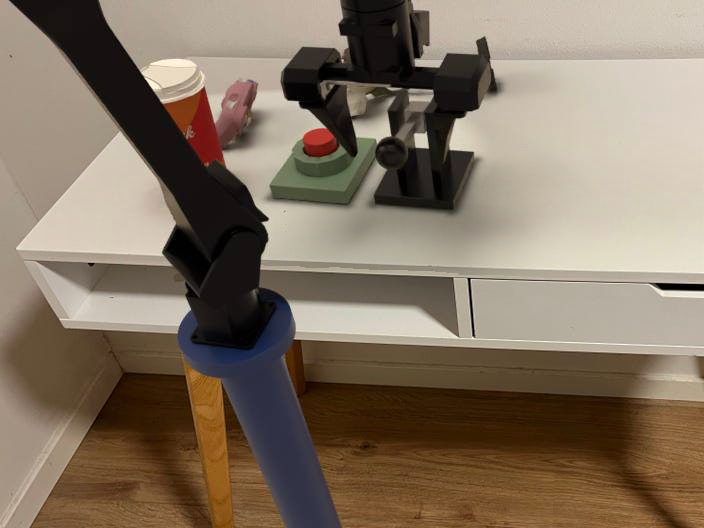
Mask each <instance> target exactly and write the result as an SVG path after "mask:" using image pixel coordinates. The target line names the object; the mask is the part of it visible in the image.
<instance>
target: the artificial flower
mask: <svg viewBox="0 0 704 528" xmlns="http://www.w3.org/2000/svg"><path fill="white" fill-rule="evenodd" d="M475 43H476V44H475V45H476V48H477V49H476V50H477V54H479V55H483V56H484V57H485V58H486V60H487V61H488V62H489V64H490V73H491V83H490V85H489V88H490V89H491V90H498V86H497V81H496V77H495V71H494V69H493V67H492V64H491V58H492V57H491V53H490V50H489V49H490V48H489V43H488V41H487V37H486V35H484V36H482V37H480V38H478V39H476V40H475ZM341 60H342V63H351V58H350V53H349V47H346V48H344V50H343V52H342V54H341ZM399 90H405V91H409V90H410V89H406V88H398V89H397V90H395V89H394V90H391V89H390V88H387V87H369V86H350V85H347V101H348V106H349V110H350V114H351V118H352V117H354V116H360V115H363V114H364V113H365V112H366V108H367V97H366V96H367V95H370V94H371V96H372V97H374V98H379V97H383V96H389V95H390V96H391V95H392V96H393V95H397V94H398V92H399Z"/></svg>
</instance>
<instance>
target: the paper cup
mask: <svg viewBox="0 0 704 528" xmlns="http://www.w3.org/2000/svg"><path fill="white" fill-rule="evenodd" d="M139 70H140V72H141V73H142V75H143V76H144V77H145V79H146V80H147V82H148V83H149V85H150V86H151V88H152V89H153V91H154V92H155V93H156V95H157V96H158V98H159V99H160V101H161V102H162V104H163V105H164V107H165V108H166V109H167V111H168V112H169V114H170V115H171V117H172V118H173V120H174V121H175V122H176V124H177V125H178V127H179V128H180V130H181V131H182V133H183V134H184V136H185V137H186V138H187V140H188V141H189V143H190V144H191V146H192V147H193V149H194V150H195V152H196V153H197V154H198V156H199V157H200V159H201V160H202V162H203V163H204V165H205V166H206V167H207V166H208V165H209V164H210V163H211V162H212V161H213V160H214V159H217V160H218V161H219V162H221V163H222V164H223V165H224V166H225V167H226V168H227V165H226V161H225V157H224V152H223V150H222V147H221V145H220V142H219V138H218V134H217V130H216V127H215V120H214V116H213V112H212V108H211V105H210V101H209V97H208V93H207V90H206V89H207V88H206V86H205V84H206V79H207V78H206V76H205V74H204V73H203V72H202V71H201V70H200V69H199V67H198V65H197V64H196V63H194V62H193V61H192V60H189V59H184V58H167V59H161V60H157V61H154V62H151V63H149V64H148V66H143V67H142V68H141V69H139Z"/></svg>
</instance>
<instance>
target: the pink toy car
mask: <svg viewBox="0 0 704 528" xmlns="http://www.w3.org/2000/svg"><path fill="white" fill-rule="evenodd" d="M258 87H259V82H257V81H256V80H255V81H254V80H253V79H249V78H245V79H244V78H242V77H241V76H239V78H238V79H237V80H236V81H235V82H234V83H233V84H231V85H230V86H229V87H228V88H227V89H226V91H225V95H224V97H223V98H222V101H221V102H220V107H221V112H220V115H219V116H218V119H217V120H216V121H214V123H215V127H216V130H217V134H218V138H219V142H220V145H221V148H223V147H225V146H226V145H228V144H229V143H231V142H232V141H233V140H234V139H235V138H239V139H240V138H241V136H242V133H243V131H244V128H245V126H246V128H247V127H248V126H249V125H250V124H251V119H252V117H253V115H252V113H251V110H252V107H253V105H254V102H255V101H256V99H257V94H258Z"/></svg>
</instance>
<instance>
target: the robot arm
mask: <svg viewBox="0 0 704 528" xmlns="http://www.w3.org/2000/svg"><path fill="white" fill-rule="evenodd" d="M8 1H9V2H10V3H11V4H12V5H13V6H14V7H15V8H16V9H17V10H18V11H19V12H20V13H21V14H23V16H24V17H26V18H27V19H28V20H29V21H30V22H31V23H32V24H33V25H34V26H35V27H36V28H37V29H38V30H39V31H41V32H42V33H43V34H44V35H45V36H46V37H47V38H48V39H49V40H50V41H51V42H52V44H53V45H54V47H55V49H57V51H58V52H59V53H60V55H61V56H62V57H63V59H64V60H65V61H66V63H67V64H68V65H69V66H70V68H71V69H72V70H73V71H74V73H75V74H76V76H78V78H79V80H80V81H81V82H82V83H83V85H84V86H85V87H86V88H87V90H88V91H89V92H90V94H91V95H92V96H93V98H94V99H95V100H96V102H97V103H98V104H99V106H100V107H101V108H102V109H103V110H104V111H103V112H105V113H106V114H107V116H108V117H109V119H110V120H111V122H112V123H113V124H114V125H115V126H116V127H117V129H118V130H119V132H120V133H121V134H122V136H123V137H124V138H125V139H126V141H127V142H128V143H129V144H130V146H131V147H132V149H133V150H134V151H135V152H136V154H137V155H138V157H140V159H141V160H142V162H143V163H144V165H146V166H147V168H148V169H149V171H150V172H151V173H152V174H153V176H154V178H156V180H157V182H158V184H159V186H160V189H161V192H162V196H163V198H164V202H165V204H166V206H167V208H168V211H169V212H170V214H171V216H172V218H173V220H174V222H175V225H174V226H173V228H172V230H171V233H170V234H169V236H168V239H167V240H166V243H165V244H164V246H163V249H162V251H161V254H162V256H163V257H164V258H165V259H166V260H167V262H169V264H170V265H171V266H172V267H173V268H174V269H175V271H176V272H177V273H178V274H179V275H180V277H181V278H182V279H183V280H184V285H185V289H186V293H185V295H184V297H185V299H186V301H187V304H188V306H189V308H190V310H191V311H192V313H193V315H194V317H195V320H196V322H197V324H198V326H197V327H196V329H195V330H194V332H193V333H192V335H191V336H190V340H191V342H192V343H194V344H201V345H209V346H216V347H224V348H232V349H240V350H251V349H253V348H254V346H255V344H256V343H257V341H258V339H259V338H260V336H261V334H262V332H263V331H264V329H265V327H266V326H267V324H268V322H269V321H270V319H271V317H272V315H273V314H274V312H275V310H276V309H277V305H276V303H275V302H272V301H264V300H261V299H260V298H261V295H260V292H259V289H258V287H260V282H261V281H260V280H261V269H262V268H261V267H262V256H263V254H264V252H265V250H266V246H267V244H268V243H269V241H270V238H269V233H268V230H267V228H266V225H265V224H264V223H267V222H268V221H269V220H270V218H269V217H268V216H267V215H266V214H265V213H264V212H263V211H262V210H261V209H259V207H257V205H256V203H255V201H254V199H253V196H252V194H251V192H250V190H249V188H248V186H247V185H246V184H245V183H244V182H243V181H242V180H241V179H240V178H239V177H238V176H236V175H235V174H234V173H233V172H232V171H231V170H230V169H229V168H227V166H226V167H225V166H224V165H223V164H222V163H221V162H219V161H218V160H217V159H214V160H213V161H212V162H211V163H210V164H209V165H208V166H207V167H206V166H205V165H204V163H203V162H202V160H201V159H200V157H199V156H198V154H197V153H196V152H195V150H194V149H193V147H192V146H191V144H190V143H189V141H188V140H187V138H186V137H185V136H184V134H183V133H182V131H181V130H180V128H179V127H178V125H177V124H176V122H175V121H174V120H173V118H172V117H171V115H170V114H169V112H168V111H167V109H166V108H165V107H164V105H163V104H162V102H161V101H160V99H159V98H158V96H157V95H156V93H155V92H154V91H153V89H152V88H151V86H150V85H149V83H148V82H147V80H146V79H145V77H144V76H143V75H142V73H141V72H140V70H141V69H139V68H138V66H137V64H136V63H135V61H134V60H133V58H132V57H131V56H130V54H129V53H128V51H127V50H126V48H125V47H124V45H123V44H122V42H121V41H120V40H119V38H118V37H117V35H116V33H114V31H113V29H112V28H111V27H110V25H109V23H108V21H107V18H106V17H105V14H104V11H103V8H102V5H101V2H100V0H8ZM339 3H340V10H341V15H342V18H341V20H340V21H339V22H338V23H337V26H338V31H339V36H340V37H346V41H347V46H348V47H349V53H350V58H351V63H342V61H343V59H342V60H341V57H342V54H341V52H340V51H339V50H338V49H336V47H323V46H319V47H317V46H301V47H300V48H299V49H298V51H297V52H296V53H295V54H294V55H293V57H292V58H291V59H290V60H289V61H288V63H287V64H286V65H285V66H284V68H283V69H282V71H281V72H280V81H279V82H280V86H281V89H282V93H283V97H284V99H285V100H286V101H287V102H298V107H299V108H300V109H301V110H307V111H309V112H310V113H311V114H312V115H313V116H314V117H315V118H316V120H318V122H319V123H320V124H322V125H323V127H324V128H327V129H328V130H329V131H330V132H331V134H333V136H334V137H335V138H336V140H337V141H338V142H339V143H340V144H341V146H342V147H343V148H344V149H345V151H346V152H347V153H348V154H349V155H350V157H352V158H355V157H356V155H357V154H358V147H357V139H356V137H357V135H356V130H355V127H354V123H353V118H352V117H351V114H350V110H349V106H348V101H347V85H350V86H369V87H386V88H388V89H402V88H406V89H409V90H425V91H432V93H433V96H434V102H435V103H437V106H436V108H435V110H434V111H433V121H434V132H435V143H436V153H437V157H438V161H439V164H444V161H445V159H446V155H447V151H448V147H449V146H450V143H451V139H452V135H453V131H454V128H455V123H456V120H459V119H464V118H466V117H467V115H468V113H469V112H471V113H472V112H475V111H477V110H479V109H480V107H481V105H482V103H483V101H484V99H485V97H486V94H487V92H488V90H489V88H490V86H489V85H490V83H491V73H490V64H489V62H488V61H487V60H486V58H485V57H484V56H483V55H479V54H478V53H458V52H457V53H456V52H455V53H454V52H447V53H446V54H445V56H444V58H443V60H442V61H441V64H440V65H439V66H437V67H435V66H416V59H417V60H418V59H419V60H421V58H422V57H423V55H424V51H425V50H424V46H425V47H430V46H431V37H430V36H431V35H430V34H431V33H430V30H431V29H430V27H431V26H430V25H431V24H430V10H423V9H422V10H421V9H414V4H413V2H412V0H339ZM348 47H347V48H348ZM247 345H248V346H247Z"/></svg>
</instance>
